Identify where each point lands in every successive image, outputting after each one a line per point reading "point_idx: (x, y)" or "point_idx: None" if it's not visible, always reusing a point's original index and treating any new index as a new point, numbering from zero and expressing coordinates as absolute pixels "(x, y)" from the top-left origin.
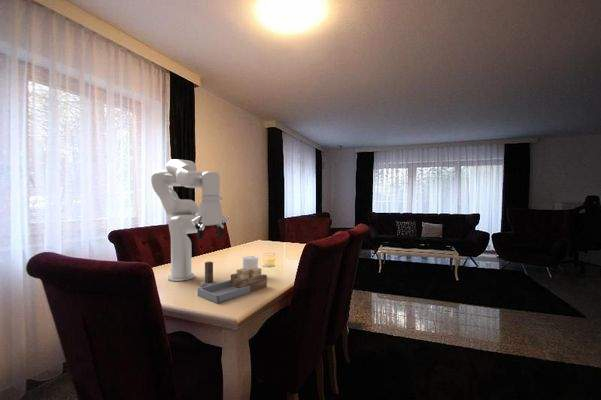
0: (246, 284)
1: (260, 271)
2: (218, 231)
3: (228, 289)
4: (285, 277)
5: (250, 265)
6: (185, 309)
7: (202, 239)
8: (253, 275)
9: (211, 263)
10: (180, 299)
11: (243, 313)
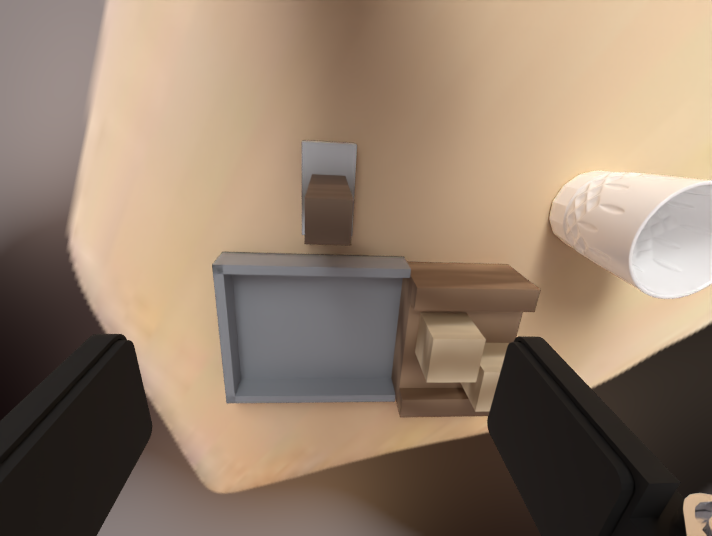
0: (397, 383)
1: None
2: (553, 450)
3: (358, 299)
4: (643, 341)
5: (605, 267)
6: None
7: (143, 425)
8: (466, 383)
9: (336, 242)
10: (140, 232)
11: (249, 482)
